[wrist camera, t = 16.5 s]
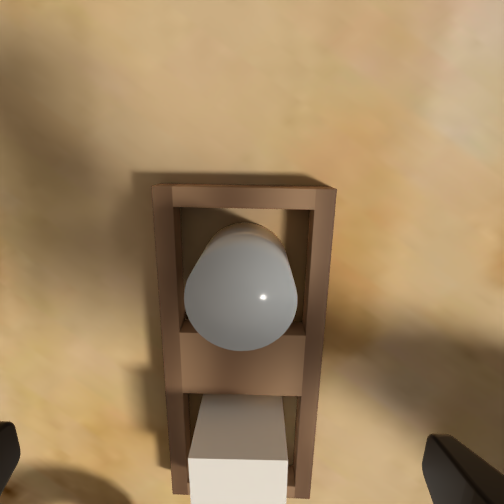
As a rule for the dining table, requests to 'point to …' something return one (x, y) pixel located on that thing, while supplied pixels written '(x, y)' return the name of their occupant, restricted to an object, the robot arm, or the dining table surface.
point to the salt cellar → (241, 289)
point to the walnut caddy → (253, 361)
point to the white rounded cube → (239, 451)
